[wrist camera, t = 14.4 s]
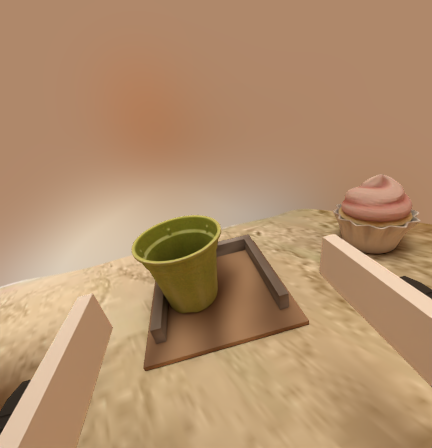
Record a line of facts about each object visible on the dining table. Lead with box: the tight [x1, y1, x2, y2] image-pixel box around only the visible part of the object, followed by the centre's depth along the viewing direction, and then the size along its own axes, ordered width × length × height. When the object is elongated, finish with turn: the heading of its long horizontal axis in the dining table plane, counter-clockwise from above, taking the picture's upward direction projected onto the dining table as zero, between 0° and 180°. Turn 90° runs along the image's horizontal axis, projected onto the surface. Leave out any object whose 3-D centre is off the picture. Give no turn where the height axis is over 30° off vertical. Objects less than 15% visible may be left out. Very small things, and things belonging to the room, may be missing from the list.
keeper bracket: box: [143, 235, 309, 371], centre depth 26 cm, size 16×16×2 cm
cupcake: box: [333, 174, 420, 254], centre depth 28 cm, size 9×9×10 cm
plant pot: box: [132, 215, 221, 313], centre depth 24 cm, size 9×9×9 cm
